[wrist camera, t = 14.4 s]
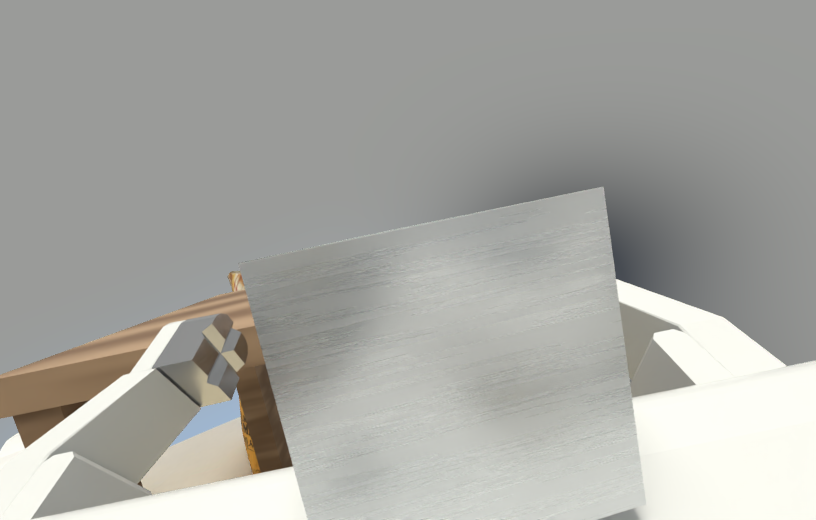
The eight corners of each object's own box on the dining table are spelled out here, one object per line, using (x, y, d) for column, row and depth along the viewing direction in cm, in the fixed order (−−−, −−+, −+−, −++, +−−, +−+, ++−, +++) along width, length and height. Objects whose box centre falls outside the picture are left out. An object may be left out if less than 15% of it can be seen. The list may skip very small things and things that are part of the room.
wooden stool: (605, 705, 18) (532, 264, 15) (134, 796, 18) (-25, 379, 15) (498, 451, 37) (459, 243, 35) (276, 496, 38) (219, 292, 35)
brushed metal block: (645, 504, 3) (603, 187, 3) (330, 602, 3) (237, 262, 2) (398, 255, 35) (392, 229, 34) (372, 261, 34) (366, 235, 34)
